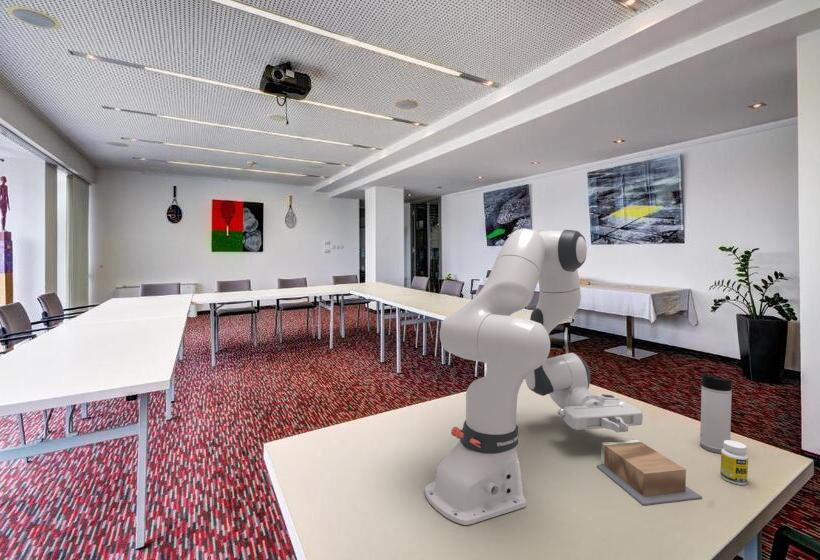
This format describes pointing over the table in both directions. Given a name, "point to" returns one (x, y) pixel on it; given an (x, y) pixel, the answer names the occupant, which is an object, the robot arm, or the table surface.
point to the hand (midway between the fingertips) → (623, 429)
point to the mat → (650, 500)
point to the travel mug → (715, 412)
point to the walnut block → (643, 467)
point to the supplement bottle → (734, 462)
